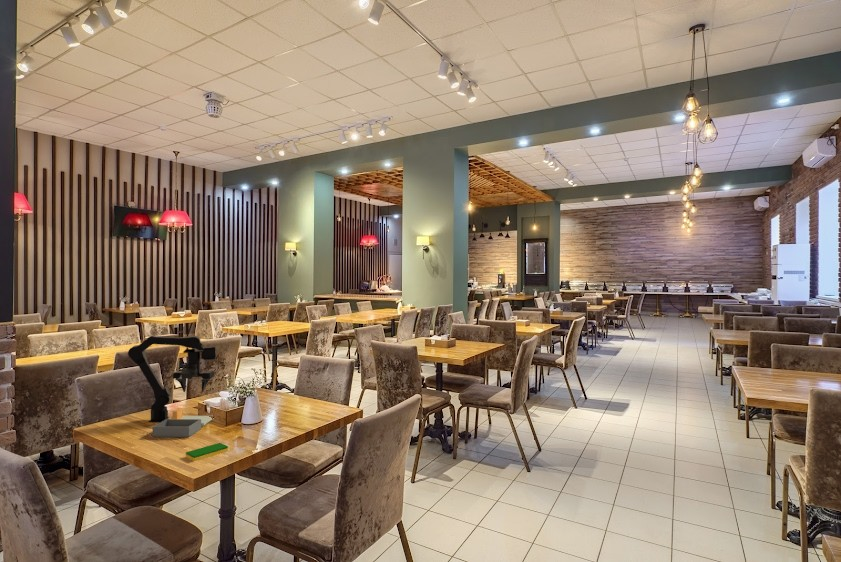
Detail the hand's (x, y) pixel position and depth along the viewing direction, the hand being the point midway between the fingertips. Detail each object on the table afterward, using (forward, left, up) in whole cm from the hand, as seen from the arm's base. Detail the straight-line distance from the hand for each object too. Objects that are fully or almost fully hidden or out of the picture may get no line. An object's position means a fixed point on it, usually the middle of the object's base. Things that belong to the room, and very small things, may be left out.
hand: (193, 391), depth 227 cm
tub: (+5, -24, -12) cm, 28 cm away
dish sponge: (+30, -48, -13) cm, 58 cm away
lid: (+5, -10, -12) cm, 17 cm away
